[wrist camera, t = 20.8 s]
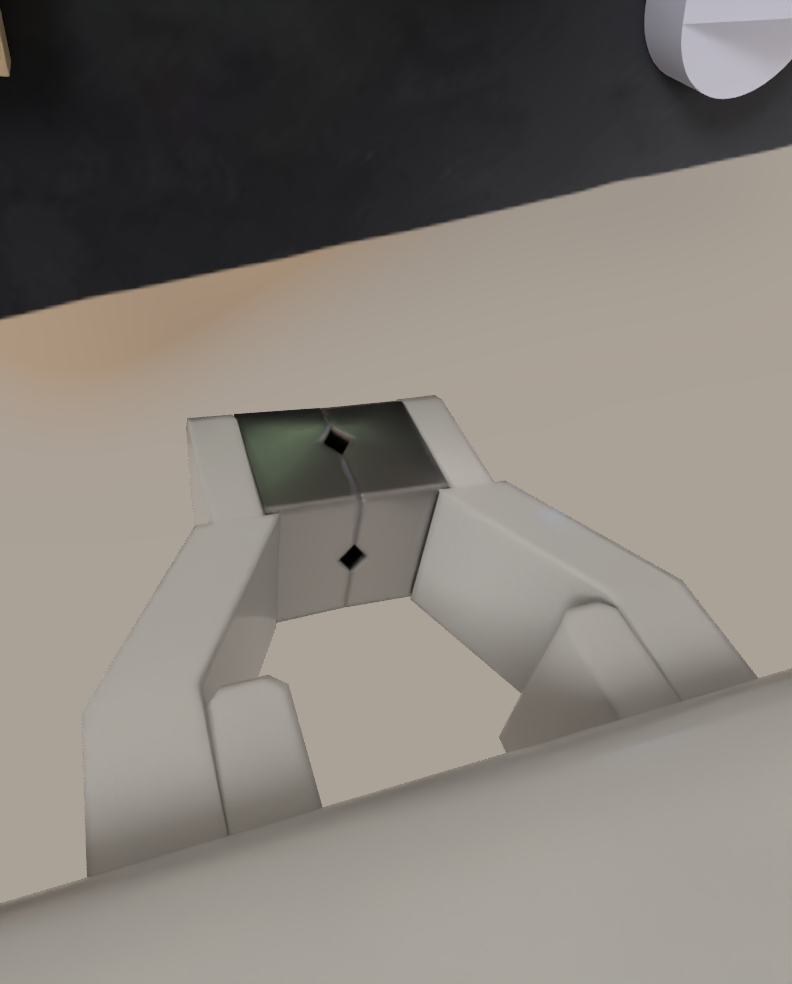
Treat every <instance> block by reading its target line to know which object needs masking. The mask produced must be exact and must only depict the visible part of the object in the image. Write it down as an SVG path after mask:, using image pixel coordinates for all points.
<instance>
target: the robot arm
mask: <svg viewBox="0 0 792 984" xmlns="http://www.w3.org/2000/svg"><path fill="white" fill-rule="evenodd" d="M186 431H187V444H188V457H189V470H190V483H191V495H192V503H193V512H194V521H195V527H194V528H193V530H192V532H191V533H190V535H189V537H188V538H187V540H186V541H185V543H184V545H183V546H182V548H181V550H180V551H179V553H178V555H177V556H176V558H175V560H174V561H173V563H172V564H171V566H170V568H169V570H168V571H167V573H166V574H165V576H164V578H163V579H162V581H161V583H160V584H159V586H158V587H157V589H156V591H155V592H154V594H153V596H152V597H151V599H150V601H149V602H148V604H147V605H146V607H145V609H144V611H143V612H142V614H141V615H140V617H139V619H138V620H137V622H136V624H135V625H134V627H133V628H132V630H131V632H130V634H129V635H128V637H127V638H126V640H125V642H124V643H123V645H122V647H121V648H120V650H119V651H118V653H117V655H116V656H115V658H114V660H113V661H112V663H111V665H110V666H109V668H108V670H107V671H106V673H105V674H104V676H103V678H102V680H101V681H100V683H99V684H98V686H97V688H96V689H95V691H94V693H93V694H92V696H91V697H90V699H89V701H88V702H87V704H86V706H85V707H84V709H83V711H82V736H83V767H84V796H85V826H86V827H85V828H86V858H87V878H84V879H81V880H78V881H74V882H71V883H67V884H64V885H61V886H57V887H54V888H51V889H47V890H44V891H41V892H37V893H34V894H31V895H27V896H23V897H20V898H17V899H13V900H10V901H7V902H3V903H0V984H792V669H788V670H785V671H782V672H778V673H775V674H771V675H768V676H765V677H761V678H758V677H757V676H756V675H755V674H754V672H753V671H752V670H751V668H750V667H749V666H748V665H747V663H746V662H745V661H744V659H743V658H742V657H741V655H740V654H739V653H738V652H737V650H736V649H735V648H734V646H733V645H732V644H731V643H730V641H729V640H728V639H727V637H726V636H725V635H724V634H723V632H722V631H721V630H720V629H719V627H718V626H717V624H716V623H715V622H714V621H713V620H712V618H711V617H710V616H709V614H708V613H707V612H706V610H705V609H704V608H703V606H702V605H701V604H700V603H699V601H698V600H697V599H696V598H695V596H694V595H693V594H692V592H691V591H690V590H689V588H688V587H687V586H686V585H685V583H684V582H683V581H682V580H681V579H679V578H677V577H675V576H674V575H671V574H670V573H668V572H666V571H664V570H663V569H661V568H659V567H658V566H655V565H654V564H652V563H650V562H649V561H647V560H645V559H643V558H641V557H640V556H638V555H636V554H634V553H633V552H631V551H629V550H627V549H626V548H624V547H622V546H620V545H619V544H617V543H615V542H613V541H611V540H610V539H608V538H606V537H604V536H603V535H601V534H599V533H597V532H595V531H594V530H592V529H590V528H588V527H587V526H585V525H583V524H581V523H579V522H578V521H576V520H574V519H572V518H571V517H569V516H567V515H565V514H563V513H562V512H560V511H558V510H556V509H555V508H553V507H551V506H549V505H547V504H546V503H544V502H542V501H540V500H538V499H537V498H535V497H533V496H531V495H530V494H528V493H526V492H524V491H523V490H521V489H519V488H517V487H515V486H514V485H512V484H510V483H508V482H507V481H499V482H494V481H493V480H492V478H491V476H490V475H489V473H488V472H487V470H486V469H485V467H484V465H483V464H482V462H481V461H480V459H479V458H478V456H477V454H476V453H475V451H474V450H473V448H472V446H471V445H470V443H469V442H468V440H467V439H466V437H465V435H464V434H463V432H462V431H461V429H460V428H459V426H458V424H457V423H456V422H455V420H454V418H453V417H452V415H451V413H450V412H449V410H448V409H447V407H446V406H445V404H444V402H443V401H442V399H440V398H438V397H437V396H435V395H432V396H424V397H415V398H407V399H398V400H396V401H390V402H380V403H370V404H360V405H350V406H340V407H331V408H321V409H320V408H315V409H301V410H286V411H273V412H258V413H245V414H234V416H233V415H223V416H211V417H199V418H188V419H187V426H186ZM408 596H411V600H412V601H413V602H414V603H415V604H417V605H418V606H419V607H420V608H421V609H423V610H424V611H425V612H426V613H427V614H428V615H430V616H431V617H432V618H433V619H434V620H435V621H437V622H438V623H439V624H440V625H441V626H443V627H444V628H445V629H446V630H447V631H449V632H450V633H451V634H452V635H453V636H454V637H456V638H457V639H458V640H459V641H460V642H461V643H463V644H464V645H465V646H466V647H468V649H470V650H471V651H472V652H473V653H474V654H475V655H477V656H478V657H479V658H480V659H481V660H483V661H484V662H485V663H486V664H487V665H488V666H490V667H491V668H492V669H493V670H494V671H496V672H497V673H498V674H499V675H500V676H501V677H503V678H504V679H505V680H506V681H507V682H509V683H510V684H511V685H512V686H513V687H514V688H516V689H517V690H518V691H519V692H520V693H521V696H520V697H519V699H518V701H517V703H516V705H515V707H514V709H513V711H512V713H511V714H510V716H509V718H508V720H507V722H506V724H505V726H504V728H503V730H502V732H501V735H500V737H499V738H500V740H501V742H502V744H503V747H504V749H505V751H506V753H505V754H502V755H498V756H495V757H492V758H488V759H485V760H482V761H478V762H475V763H471V764H468V765H465V766H461V767H458V768H455V769H451V770H448V771H445V772H441V773H438V774H434V775H431V776H428V777H424V778H421V779H418V780H414V781H411V782H407V783H404V784H401V785H398V786H394V787H390V788H388V789H384V790H381V791H377V792H374V793H370V794H367V795H363V796H360V797H357V798H353V799H350V800H347V801H344V802H340V803H336V804H333V805H330V806H326V807H323V808H322V804H321V800H320V797H319V793H318V790H317V786H316V783H315V779H314V776H313V772H312V768H311V764H310V761H309V757H308V754H307V750H306V746H305V743H304V739H303V736H302V732H301V728H300V725H299V721H298V718H297V714H296V711H295V707H294V703H293V700H292V696H291V692H290V689H289V685H288V684H287V683H285V682H283V681H281V680H278V679H276V678H274V677H272V676H270V675H266V676H261V677H258V675H259V672H260V669H261V667H262V664H263V661H264V659H265V656H266V653H267V650H268V648H269V645H270V642H271V639H272V636H273V634H274V631H275V628H276V623H277V622H282V621H286V620H290V619H295V618H299V617H303V616H308V615H312V614H317V613H321V612H326V611H330V610H335V609H339V608H343V607H350V606H355V605H361V604H367V603H373V602H379V601H385V600H390V599H396V598H402V597H408Z"/></svg>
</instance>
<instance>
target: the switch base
mask: <svg viewBox="0 0 792 984" xmlns="http://www.w3.org/2000/svg"><path fill="white" fill-rule="evenodd" d="M10 66H11V58H10V53H9V48H8V44H7V39H6V34H5V29H4V24H3V19H2V14H1V10H0V76H4V77H9V75H10Z"/></svg>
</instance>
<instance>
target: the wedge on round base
mask: <svg viewBox="0 0 792 984" xmlns="http://www.w3.org/2000/svg"><path fill="white" fill-rule="evenodd" d="M644 26H645V38H646V44H647V47H648V50H649V53H650V56H651V58H652V60H653V62H654V63H655V64H656V66H657V67H658V68H659V70H661V71H662V72H663V73H664V74H665V75H667V76H669V77H671V78H673V79H675V80H677V81H679V82H681V83H683V84H685V85H687V86H689V87H691V88H693V89H695V90H697V91H699V92H701V93H703V94H705V95H707V96H709V97H713V98H717V99H728V98H735V97H738V96H741V95H744V94H747V93H749V92H751V91H753V90H755V89H757V88H758V87H760V86H762V85H763V84H765V83H766V82H767V81H769V80H770V79H771V78H773V77H774V76H775V75H776V74H777V73H778V72H780V71H781V70H782V69H783V68H784V67H785V66H786V65H787V64H788V63H789V62H790V61H791V59H792V0H647V1H646V7H645V19H644Z"/></svg>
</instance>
